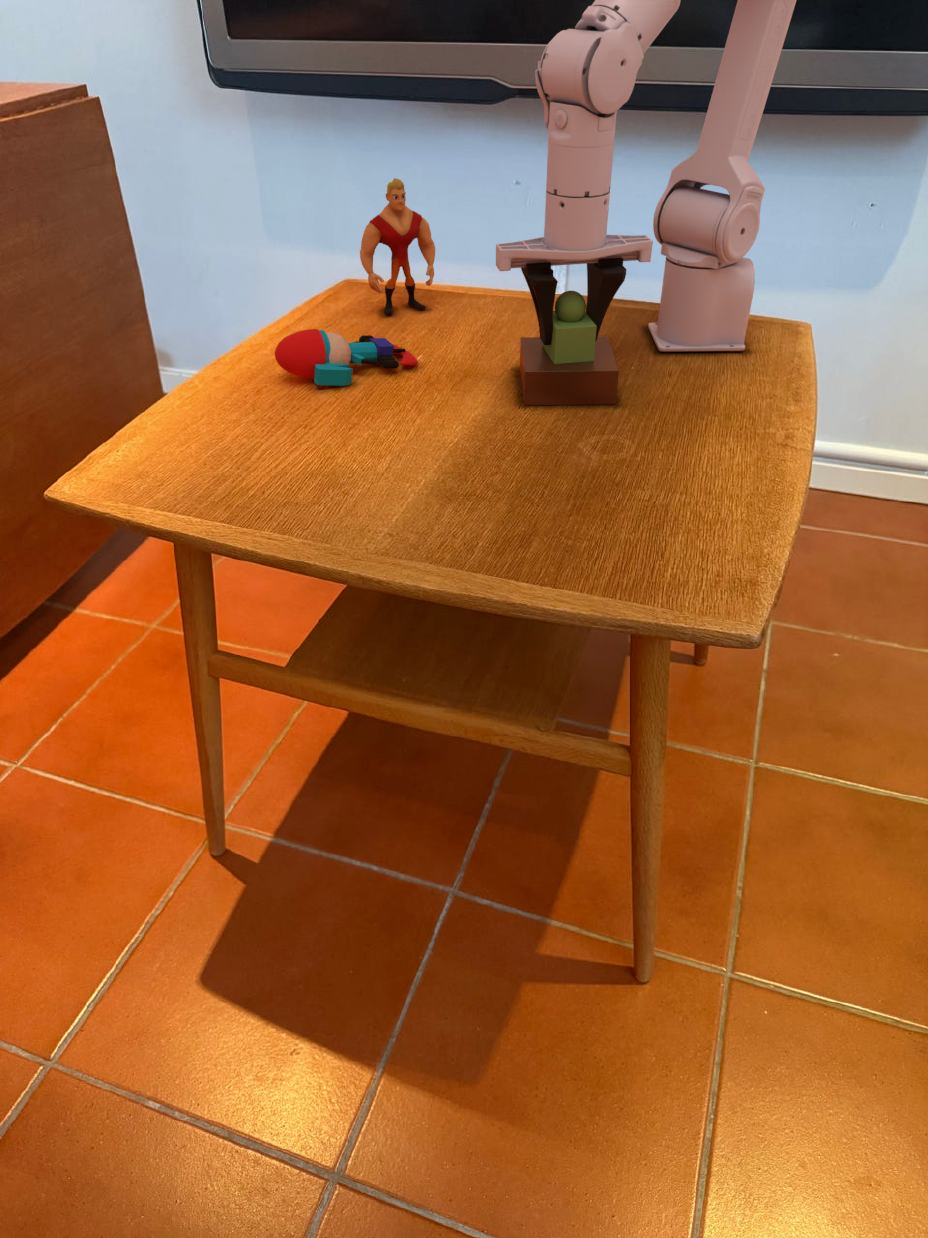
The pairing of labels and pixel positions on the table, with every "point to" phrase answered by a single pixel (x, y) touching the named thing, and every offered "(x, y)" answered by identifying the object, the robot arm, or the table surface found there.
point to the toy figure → (335, 355)
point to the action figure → (397, 244)
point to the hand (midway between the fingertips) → (568, 339)
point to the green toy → (571, 331)
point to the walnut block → (567, 376)
